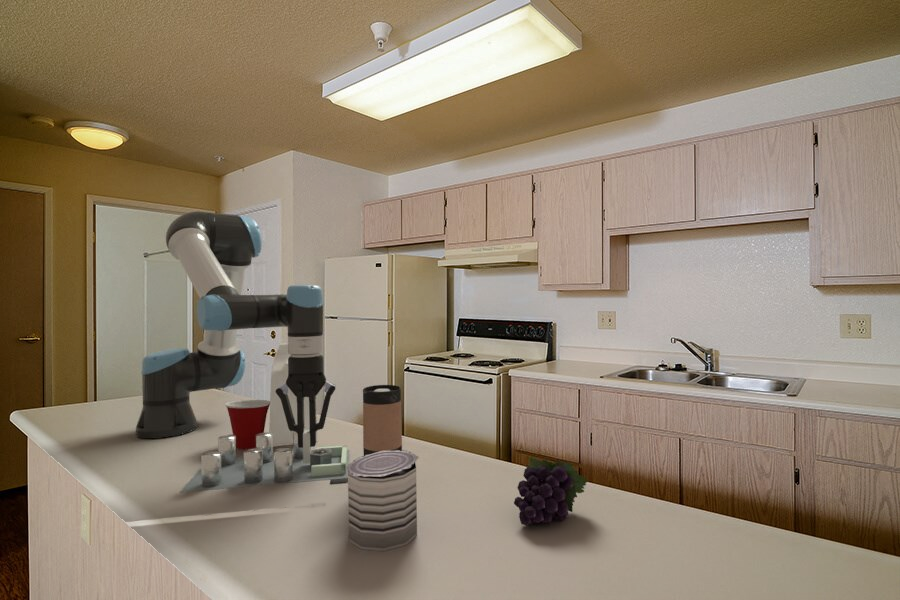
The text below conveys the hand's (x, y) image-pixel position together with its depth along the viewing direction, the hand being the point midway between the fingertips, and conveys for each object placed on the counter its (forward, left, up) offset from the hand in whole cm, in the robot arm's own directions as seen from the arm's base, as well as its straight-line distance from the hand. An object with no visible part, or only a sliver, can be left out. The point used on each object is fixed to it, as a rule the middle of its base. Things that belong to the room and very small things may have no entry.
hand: (307, 461), depth 105 cm
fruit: (+32, +43, -2) cm, 54 cm away
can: (+32, +15, -2) cm, 35 cm away
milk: (-23, -6, -2) cm, 24 cm away
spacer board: (0, -7, -2) cm, 7 cm away
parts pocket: (0, +5, -2) cm, 5 cm away
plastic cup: (-19, -16, -2) cm, 25 cm away
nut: (0, +3, -1) cm, 3 cm away
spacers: (0, -10, -2) cm, 10 cm away
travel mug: (+14, +16, -2) cm, 21 cm away
